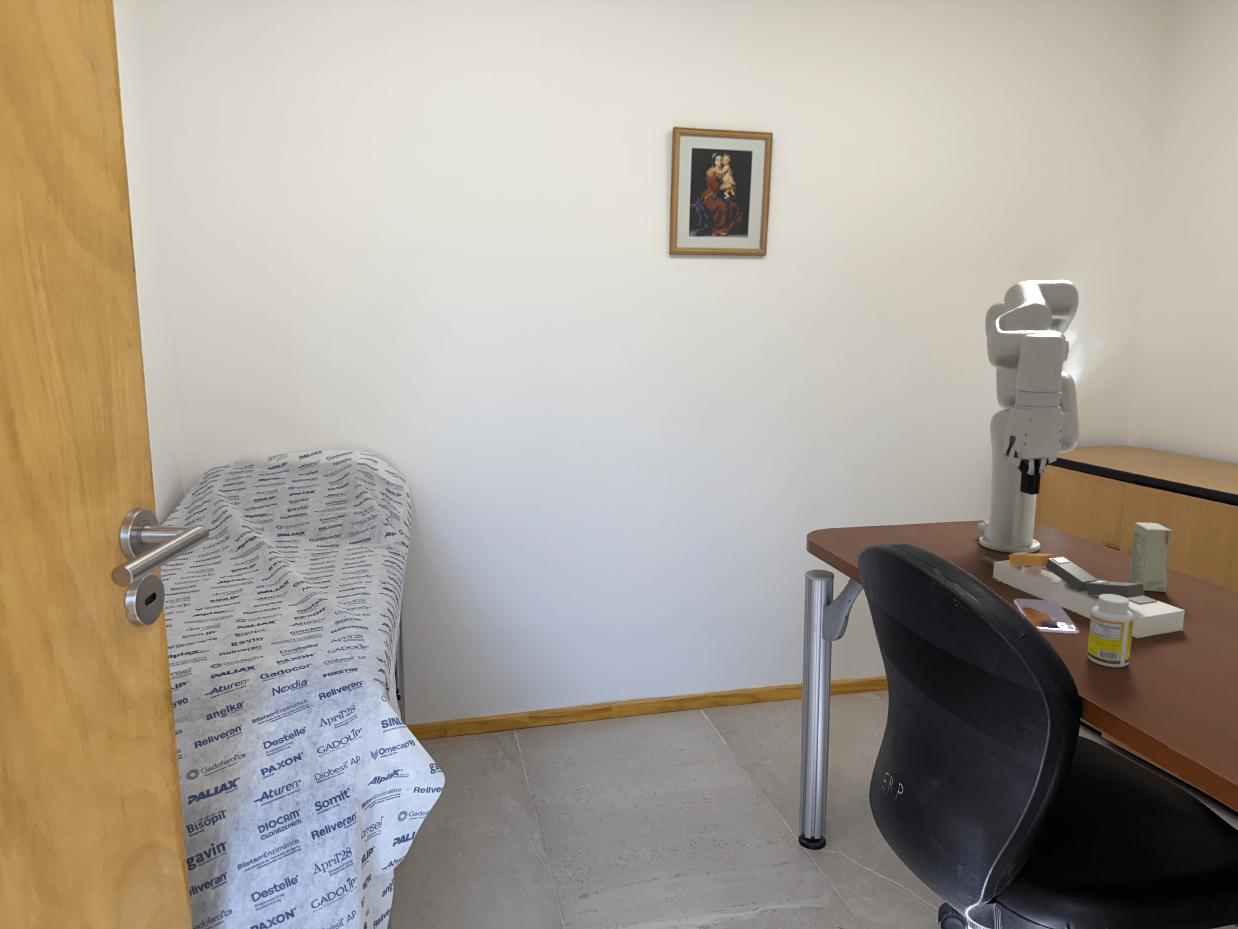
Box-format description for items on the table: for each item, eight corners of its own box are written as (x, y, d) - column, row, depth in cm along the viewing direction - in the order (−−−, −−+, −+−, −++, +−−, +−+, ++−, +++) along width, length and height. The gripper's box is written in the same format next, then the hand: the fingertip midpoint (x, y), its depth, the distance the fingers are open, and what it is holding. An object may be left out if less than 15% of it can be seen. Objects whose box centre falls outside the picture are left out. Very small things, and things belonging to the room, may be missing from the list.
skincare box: (1166, 593, 152) (1174, 530, 149) (1141, 591, 152) (1148, 529, 150) (1151, 581, 158) (1158, 522, 155) (1127, 580, 159) (1133, 521, 156)
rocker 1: (1009, 564, 158) (1008, 553, 158) (1024, 562, 159) (1022, 551, 159) (1042, 566, 150) (1040, 555, 150) (1056, 564, 151) (1055, 553, 151)
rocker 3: (1087, 594, 141) (1086, 582, 141) (1103, 592, 142) (1101, 580, 142) (1128, 597, 133) (1126, 585, 133) (1144, 595, 134) (1142, 582, 134)
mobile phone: (1057, 599, 147) (1081, 630, 133) (1057, 604, 147) (1080, 636, 133) (1012, 596, 149) (1031, 626, 135) (1012, 601, 149) (1030, 632, 135)
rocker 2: (1045, 567, 149) (1048, 557, 148) (1060, 565, 150) (1063, 555, 149) (1079, 591, 142) (1082, 581, 141) (1094, 589, 143) (1098, 579, 142)
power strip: (964, 567, 169) (966, 546, 168) (1003, 561, 172) (1004, 541, 171) (1137, 638, 131) (1140, 611, 130) (1182, 630, 134) (1185, 604, 133)
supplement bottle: (1111, 652, 126) (1118, 591, 124) (1137, 667, 120) (1144, 603, 119) (1078, 654, 125) (1084, 592, 124) (1102, 670, 120) (1109, 605, 118)
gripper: (1053, 395, 158) (1045, 485, 161) (990, 399, 154) (983, 492, 157) (1084, 399, 151) (1075, 493, 154) (1020, 404, 146) (1012, 501, 150)
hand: (1029, 492), depth 156 cm, fingers closed
